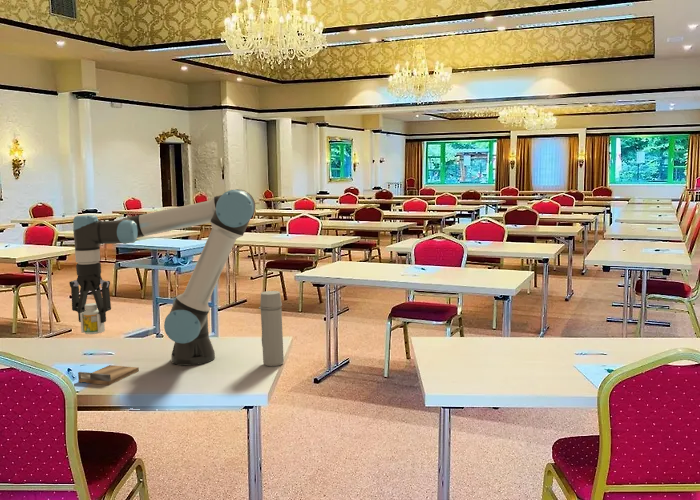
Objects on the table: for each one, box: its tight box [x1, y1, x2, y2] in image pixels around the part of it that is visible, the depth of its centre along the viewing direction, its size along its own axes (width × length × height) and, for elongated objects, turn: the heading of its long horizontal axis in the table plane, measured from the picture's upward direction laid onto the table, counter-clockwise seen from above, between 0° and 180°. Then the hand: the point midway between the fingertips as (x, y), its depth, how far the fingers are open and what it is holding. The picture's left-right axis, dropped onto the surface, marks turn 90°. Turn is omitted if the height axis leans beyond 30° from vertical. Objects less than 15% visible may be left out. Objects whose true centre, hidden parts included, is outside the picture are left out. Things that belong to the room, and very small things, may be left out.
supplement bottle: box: [83, 302, 99, 335], centre depth 216 cm, size 5×5×10 cm
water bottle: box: [258, 290, 285, 367], centre depth 225 cm, size 9×8×25 cm
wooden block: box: [77, 364, 139, 386], centre depth 217 cm, size 12×15×3 cm
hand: (93, 331), depth 217 cm, fingers closed on supplement bottle, 5 cm apart
